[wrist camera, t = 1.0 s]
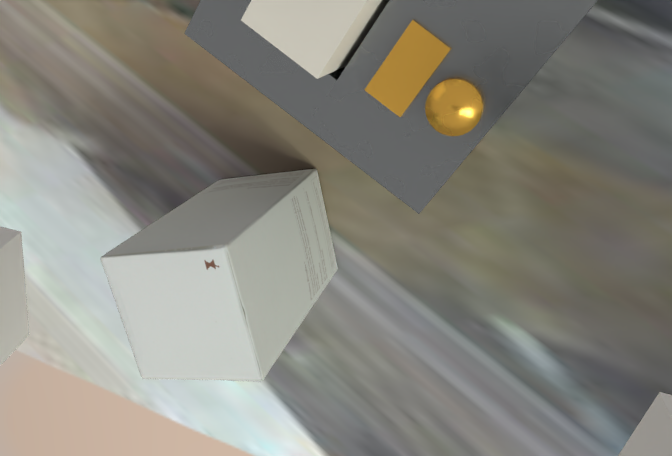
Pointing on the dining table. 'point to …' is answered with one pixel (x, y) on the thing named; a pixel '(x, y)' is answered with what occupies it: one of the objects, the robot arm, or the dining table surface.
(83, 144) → the dining table surface
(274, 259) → the supplement box
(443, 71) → the block
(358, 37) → the block
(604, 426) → the dining table surface
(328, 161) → the dining table surface
